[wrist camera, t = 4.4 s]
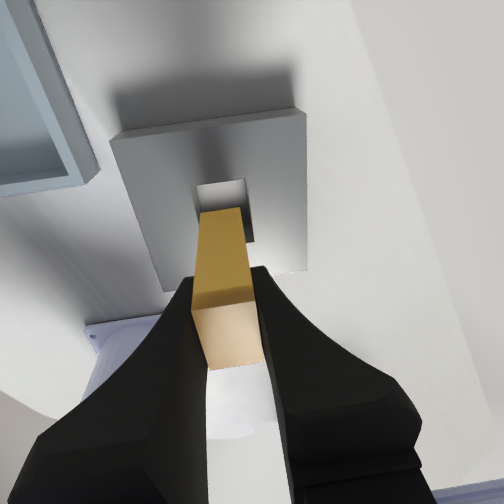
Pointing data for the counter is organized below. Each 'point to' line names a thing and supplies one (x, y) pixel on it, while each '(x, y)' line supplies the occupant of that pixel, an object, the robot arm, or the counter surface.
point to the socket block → (213, 171)
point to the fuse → (225, 293)
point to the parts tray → (36, 110)
